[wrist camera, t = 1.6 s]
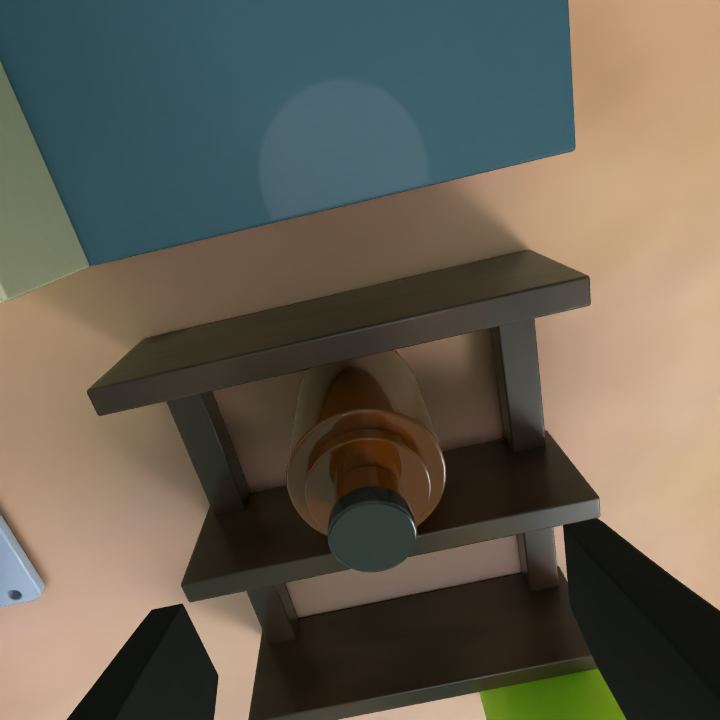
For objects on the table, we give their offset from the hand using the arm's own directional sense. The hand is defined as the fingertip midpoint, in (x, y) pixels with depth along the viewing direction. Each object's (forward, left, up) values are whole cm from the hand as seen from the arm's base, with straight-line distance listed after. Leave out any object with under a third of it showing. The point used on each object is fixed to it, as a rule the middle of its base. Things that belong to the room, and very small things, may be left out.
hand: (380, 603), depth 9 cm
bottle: (0, 0, -9) cm, 9 cm away
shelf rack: (0, -3, -9) cm, 9 cm away
